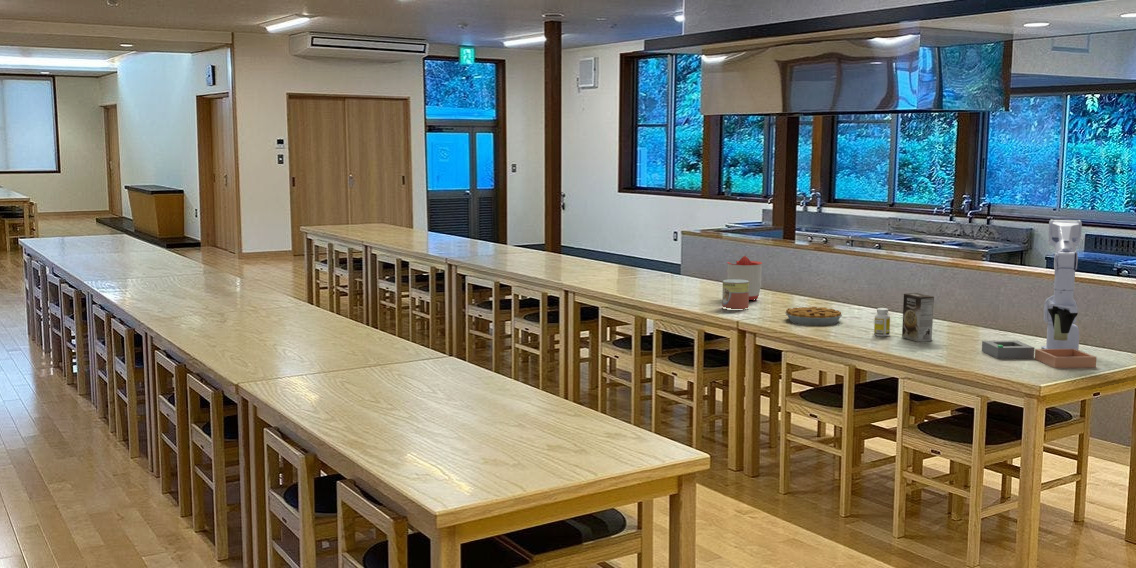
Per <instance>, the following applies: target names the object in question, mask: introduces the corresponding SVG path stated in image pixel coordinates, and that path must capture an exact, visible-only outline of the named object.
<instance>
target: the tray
mask: <svg viewBox="0 0 1136 568" xmlns="http://www.w3.org/2000/svg"><path fill="white" fill-rule="evenodd" d="M1097 358H1098V357H1097V356H1095V355H1093V354H1090V353H1087V352H1084V351H1082V350H1080V349H1078V350H1077V349H1043V348H1035V349H1034V360H1035V361H1038V362H1040V361H1041V362H1040V363H1042V362H1043V364H1045V365H1047V366H1050V367H1051V368H1054V369H1070V368H1071V369H1072V368H1074V369H1076V368H1082V369H1083V368H1087V369H1088V368H1097Z"/></svg>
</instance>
